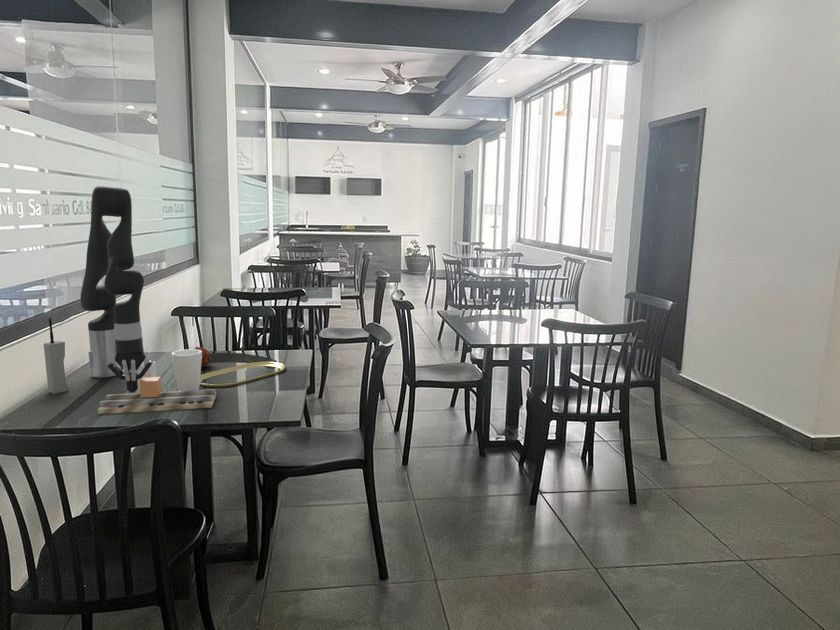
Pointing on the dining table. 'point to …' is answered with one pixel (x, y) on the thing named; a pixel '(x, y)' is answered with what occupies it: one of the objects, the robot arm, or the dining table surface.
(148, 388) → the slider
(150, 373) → the white cup
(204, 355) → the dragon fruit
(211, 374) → the gold oval ring
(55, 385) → the vintage mobile phone
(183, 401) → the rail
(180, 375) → the foam cup
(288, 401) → the dining table surface
